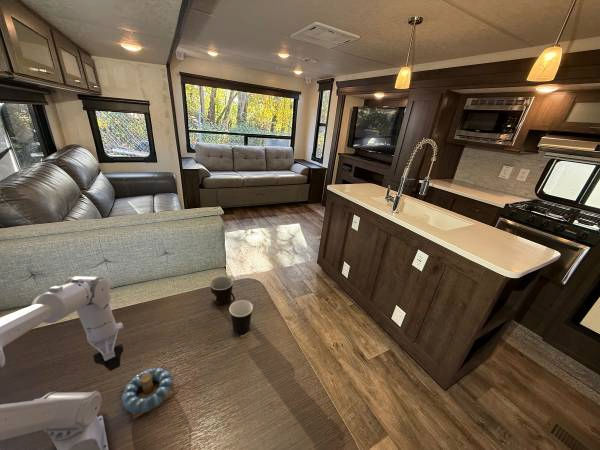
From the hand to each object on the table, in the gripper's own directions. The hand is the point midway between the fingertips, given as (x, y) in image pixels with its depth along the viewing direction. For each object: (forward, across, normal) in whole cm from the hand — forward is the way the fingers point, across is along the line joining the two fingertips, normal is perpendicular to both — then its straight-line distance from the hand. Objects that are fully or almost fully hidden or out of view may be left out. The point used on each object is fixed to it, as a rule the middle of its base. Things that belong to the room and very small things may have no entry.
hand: (112, 356), depth 64 cm
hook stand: (+10, -8, -5) cm, 14 cm away
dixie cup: (+12, -5, -35) cm, 37 cm away
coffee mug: (+12, +11, -36) cm, 39 cm away
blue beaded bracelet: (+8, -9, -5) cm, 13 cm away
